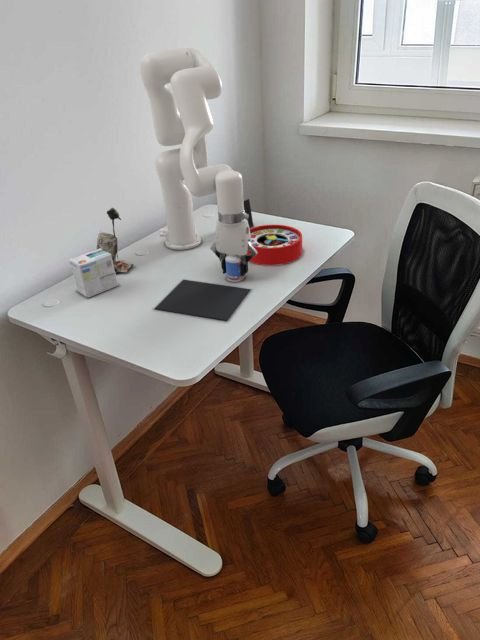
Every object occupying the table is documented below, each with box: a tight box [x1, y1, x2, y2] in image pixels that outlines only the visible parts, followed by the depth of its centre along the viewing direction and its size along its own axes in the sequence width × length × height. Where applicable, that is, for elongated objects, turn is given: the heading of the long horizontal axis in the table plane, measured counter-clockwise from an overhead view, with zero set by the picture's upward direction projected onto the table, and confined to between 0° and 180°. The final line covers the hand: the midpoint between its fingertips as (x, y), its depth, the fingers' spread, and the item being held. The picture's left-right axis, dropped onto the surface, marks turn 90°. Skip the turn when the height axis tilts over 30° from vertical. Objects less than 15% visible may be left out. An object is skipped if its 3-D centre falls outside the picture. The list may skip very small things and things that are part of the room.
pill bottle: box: [225, 254, 245, 283], centre depth 158 cm, size 6×5×10 cm
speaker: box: [244, 198, 255, 229], centre depth 193 cm, size 8×6×10 cm
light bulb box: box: [68, 248, 119, 299], centre depth 155 cm, size 11×7×11 cm, turn 134°
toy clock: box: [247, 224, 303, 266], centre depth 174 cm, size 20×6×20 cm
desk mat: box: [154, 279, 251, 322], centre depth 151 cm, size 22×18×1 cm
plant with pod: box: [96, 207, 134, 274], centre depth 163 cm, size 8×11×20 cm
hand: (235, 272), depth 160 cm, fingers closed on pill bottle, 5 cm apart
